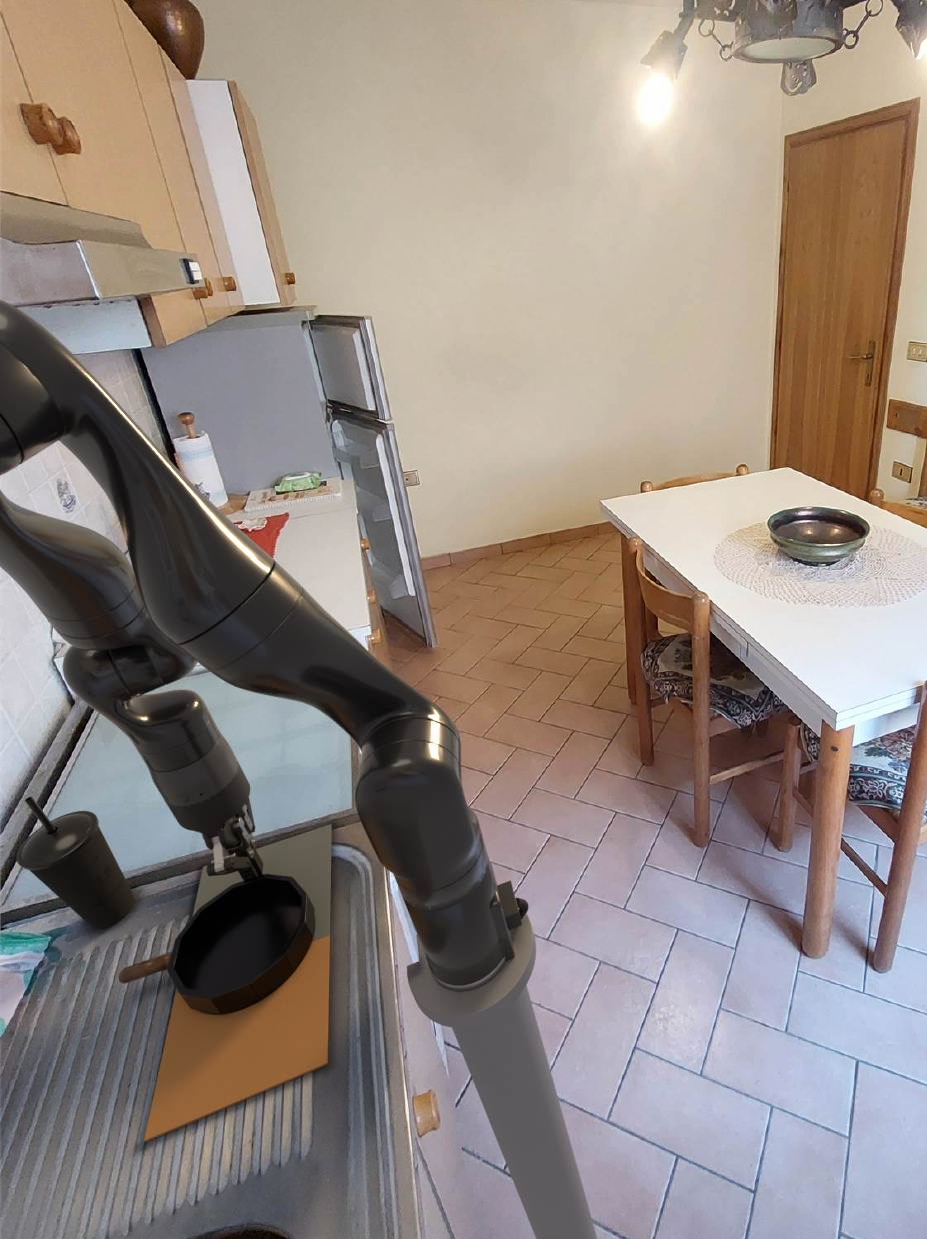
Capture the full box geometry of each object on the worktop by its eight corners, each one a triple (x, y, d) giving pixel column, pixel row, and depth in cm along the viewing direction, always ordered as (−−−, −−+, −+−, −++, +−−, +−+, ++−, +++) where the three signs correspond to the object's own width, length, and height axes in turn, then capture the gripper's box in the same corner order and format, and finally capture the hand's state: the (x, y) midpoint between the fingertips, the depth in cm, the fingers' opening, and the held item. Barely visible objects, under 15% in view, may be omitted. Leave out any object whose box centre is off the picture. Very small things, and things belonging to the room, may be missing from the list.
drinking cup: (60, 944, 79) (-35, 831, 69) (102, 885, 85) (20, 775, 76) (124, 937, 79) (37, 824, 69) (160, 880, 85) (86, 769, 76)
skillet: (318, 876, 83) (309, 857, 82) (312, 983, 72) (301, 964, 70) (147, 934, 78) (134, 916, 77) (111, 1059, 67) (94, 1041, 65)
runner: (331, 825, 91) (331, 823, 90) (327, 1064, 65) (326, 1063, 65) (203, 868, 86) (202, 866, 86) (145, 1142, 60) (143, 1141, 60)
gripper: (228, 810, 68) (282, 910, 77) (244, 726, 79) (290, 821, 88) (146, 835, 66) (212, 934, 75) (174, 745, 77) (229, 841, 86)
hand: (254, 873), depth 81 cm, fingers closed
